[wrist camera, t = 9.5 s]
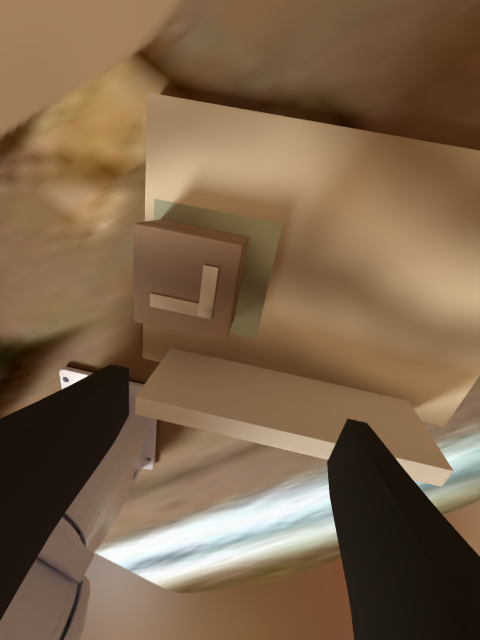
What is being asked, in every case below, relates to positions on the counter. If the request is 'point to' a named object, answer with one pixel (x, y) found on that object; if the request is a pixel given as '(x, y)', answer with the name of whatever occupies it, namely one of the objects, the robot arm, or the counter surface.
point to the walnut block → (187, 277)
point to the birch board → (329, 247)
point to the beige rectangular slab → (284, 410)
